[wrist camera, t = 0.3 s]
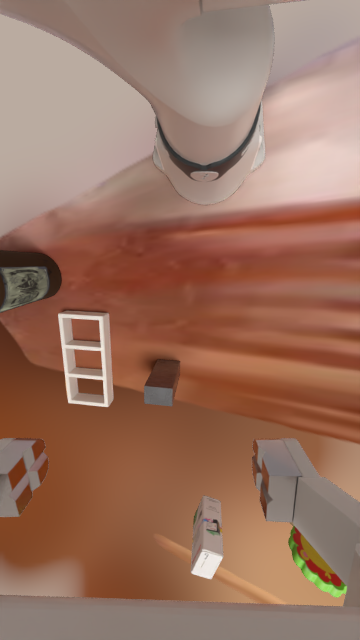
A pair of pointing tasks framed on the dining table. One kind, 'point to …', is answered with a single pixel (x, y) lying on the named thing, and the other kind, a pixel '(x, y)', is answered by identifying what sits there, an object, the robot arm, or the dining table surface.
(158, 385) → the dark grey metallic block
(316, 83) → the dining table surface
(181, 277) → the dining table surface
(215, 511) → the ink box
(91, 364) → the dining table surface
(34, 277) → the olive oil
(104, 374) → the rack
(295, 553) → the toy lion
